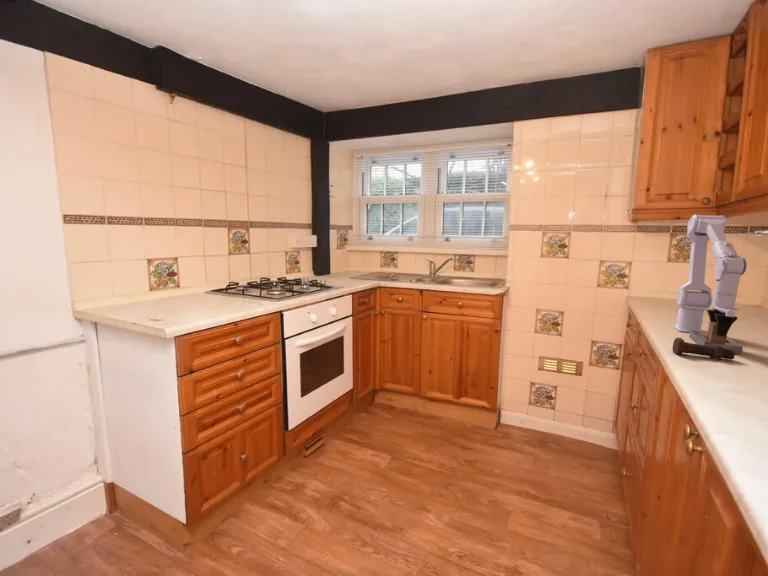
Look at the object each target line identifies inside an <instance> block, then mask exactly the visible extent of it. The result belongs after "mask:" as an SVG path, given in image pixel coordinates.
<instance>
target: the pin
mask: <svg viewBox="0 0 768 576" xmlns="http://www.w3.org/2000/svg"><path fill="white" fill-rule="evenodd" d="M708 323H709V324H708V327H707V332H708V333H707V339H708V340H709V341H717V342H726V337H727V336H728V333H727V334H726V336H719V335H717V322H710V321H709V322H708Z"/></svg>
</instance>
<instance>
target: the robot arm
mask: <svg viewBox="0 0 768 576" xmlns="http://www.w3.org/2000/svg"><path fill="white" fill-rule="evenodd" d="M726 226H727V219H726V217H725V216H724V215H705V214H704V215H703V214H702V215H701V214H700V215H698V214H693V215H692V216H691V217H690V218H689V219H688V222H687V231H686V233H687V238H689V239H690V241H691V242H690V254H689V256H690V257H689V266H688V267H689V268H688V278H687V279H688V280H687V282H686V283H684V284H682V285H680V286H679V287H678V292H677V294H676V299H675V300H676V304H677V305H678V306H679V310H678V311H677V318H676V324H673V327H674V328H675V329H676V330H677V331H678V332H683V333H690V330H691V331H700V332H704V331H703V330H702V325H703V319H704V314H705V311H707V314H708V316H709V322H717V335H719V336H726V334H727V335H728V332H729V331H730V328H731V327H732V325H733V324H734V323H735V322H736V321H737V320H738V316H736V311H739V310H740V307H736V300H737V296H738V291H739V284H740V281H741V280H740V279H741V276H743V275H744V274H745V273H746V271H747V267H748V265H747V264H748V263H747V260H746V258H745V257H742V256H741V255H738V252H737V250H736V249H735V247H734V245H733V243H732V242H731V241H728V240H727V237H726V233H725V228H726ZM709 241H710V242H711V243H712V246H711V252H712V254H713V256H714V259H715V261H716V262H715V264H714V271H715V275H714V277H715V279H716V281H715V287H714V293H713V295H712V288H711V287H710V286H709V285H707V284H706V283H705V277H706V269H707V268H706V265H707V253H708V242H709ZM709 308H710V309H709Z"/></svg>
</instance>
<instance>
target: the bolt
mask: <svg viewBox="0 0 768 576" xmlns="http://www.w3.org/2000/svg"><path fill="white" fill-rule="evenodd" d="M672 353H673V354H674V355H675V356H683V354H691V355H697V356H698V355H699V356H704V357H705V356H706V357H709V358H710V359H711V360H715V361H716V360H717V361H719V360H721V359H725V360H734V359H735V356H736V355H737V354H736V353H735V352H734V350H732V349H727V348H722V347H721V346H720V345H717V344H713V345H711V346H706V345H699V344H697V343H692V342H687V341H685V339H683V337H682V338H681V337H676V338H674V340H673V343H672Z"/></svg>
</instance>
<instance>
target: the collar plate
mask: <svg viewBox="0 0 768 576" xmlns="http://www.w3.org/2000/svg"><path fill="white" fill-rule="evenodd" d="M707 333H708V331H703V332H700V331H691V330H690V332H689V336H688V337H689V338H690V339H691V340H692V341H693V342H694V344H699V345H706V346H711V345H713V344H717V345H720V346H721V347H722V348H727V349H732V350H734V352H735V353H736V355H742V354H743V349H744V346H743V345H741V344H739V343H738V342H736V341H735V340H734V339H732V338H731V337H729V336H728V335H727V337H726V342H717V341H709V340H708V339H707Z"/></svg>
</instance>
